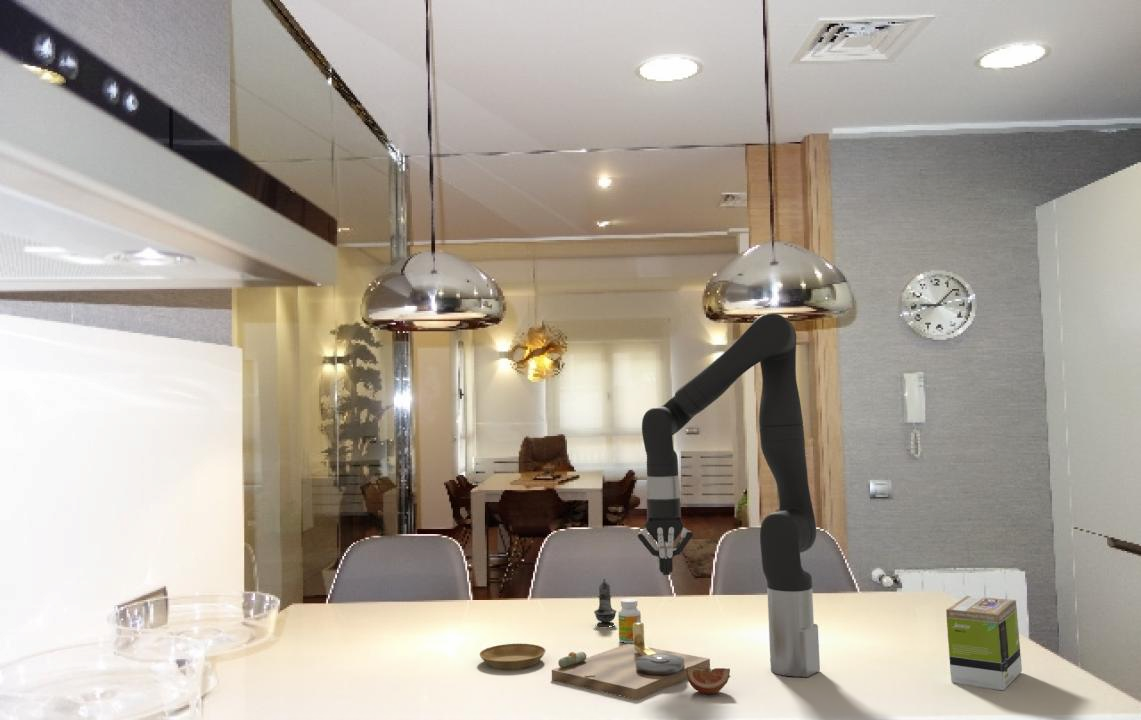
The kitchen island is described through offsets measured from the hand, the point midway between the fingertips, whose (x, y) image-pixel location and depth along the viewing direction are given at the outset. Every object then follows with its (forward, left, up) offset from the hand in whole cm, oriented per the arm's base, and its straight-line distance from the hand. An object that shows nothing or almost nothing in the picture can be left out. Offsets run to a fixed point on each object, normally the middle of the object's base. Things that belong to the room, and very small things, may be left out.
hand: (665, 574), depth 196 cm
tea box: (-59, -26, -19) cm, 67 cm away
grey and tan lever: (-3, +10, -16) cm, 19 cm away
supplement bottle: (+17, -8, -19) cm, 27 cm away
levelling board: (0, +13, -19) cm, 23 cm away
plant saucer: (+27, +22, -19) cm, 40 cm away
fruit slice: (-20, +15, -19) cm, 31 cm away
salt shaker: (+32, -17, -19) cm, 41 cm away
